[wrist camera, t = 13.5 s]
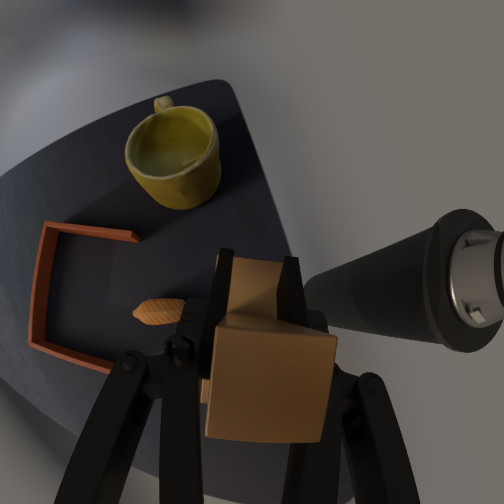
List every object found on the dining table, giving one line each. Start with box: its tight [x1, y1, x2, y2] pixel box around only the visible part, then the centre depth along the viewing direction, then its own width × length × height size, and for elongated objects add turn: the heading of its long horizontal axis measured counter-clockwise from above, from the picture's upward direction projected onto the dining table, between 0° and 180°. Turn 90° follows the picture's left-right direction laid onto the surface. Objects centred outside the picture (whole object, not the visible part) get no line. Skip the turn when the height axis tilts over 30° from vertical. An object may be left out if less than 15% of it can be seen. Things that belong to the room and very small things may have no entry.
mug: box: [125, 96, 221, 210], centre depth 28 cm, size 12×10×10 cm
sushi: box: [133, 298, 185, 325], centre depth 27 cm, size 3×6×3 cm, turn 98°
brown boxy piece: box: [201, 255, 338, 443], centre depth 13 cm, size 10×5×16 cm, turn 173°
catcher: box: [28, 221, 141, 374], centre depth 27 cm, size 13×15×3 cm
